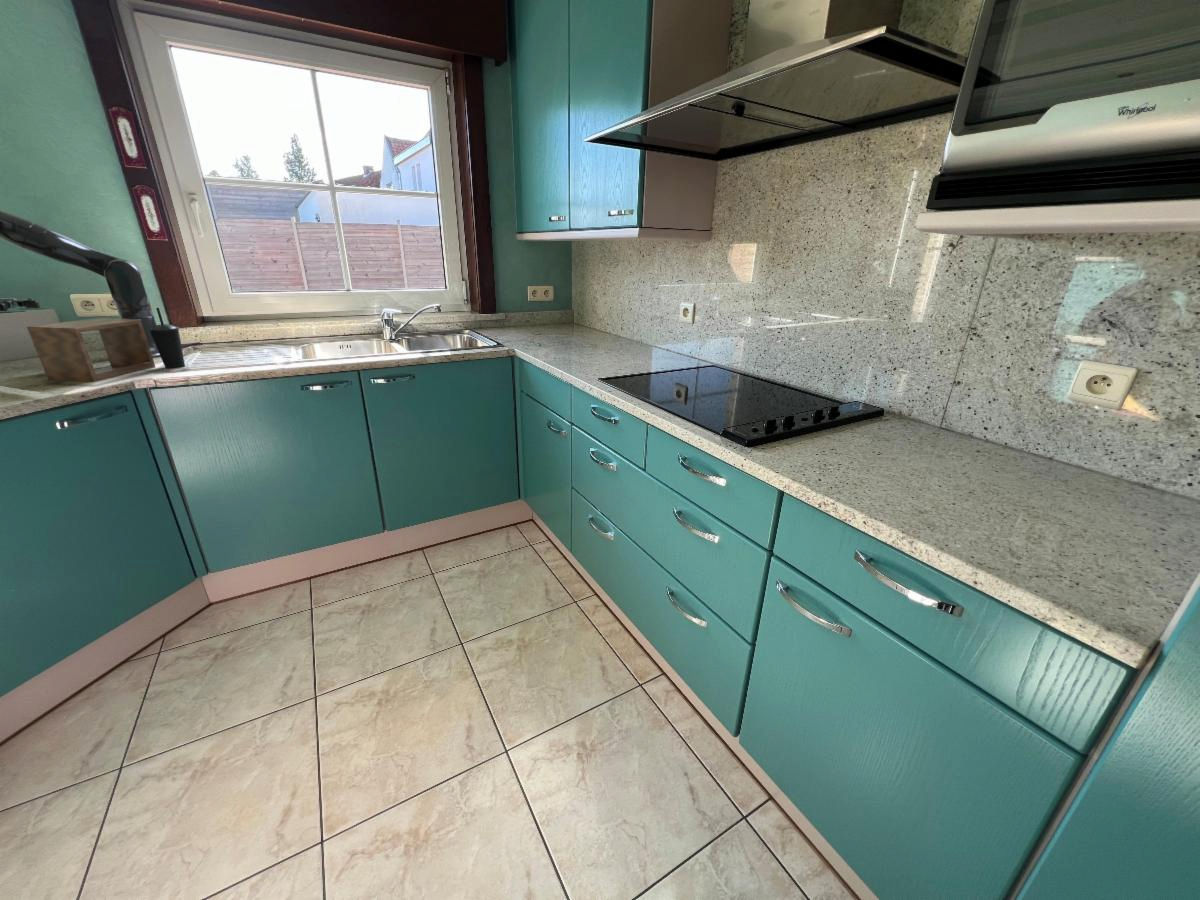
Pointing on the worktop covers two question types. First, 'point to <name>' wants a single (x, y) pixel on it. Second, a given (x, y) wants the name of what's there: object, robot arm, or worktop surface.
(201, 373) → the worktop surface
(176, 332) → the drinking cup
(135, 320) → the cabinet
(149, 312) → the robot arm
